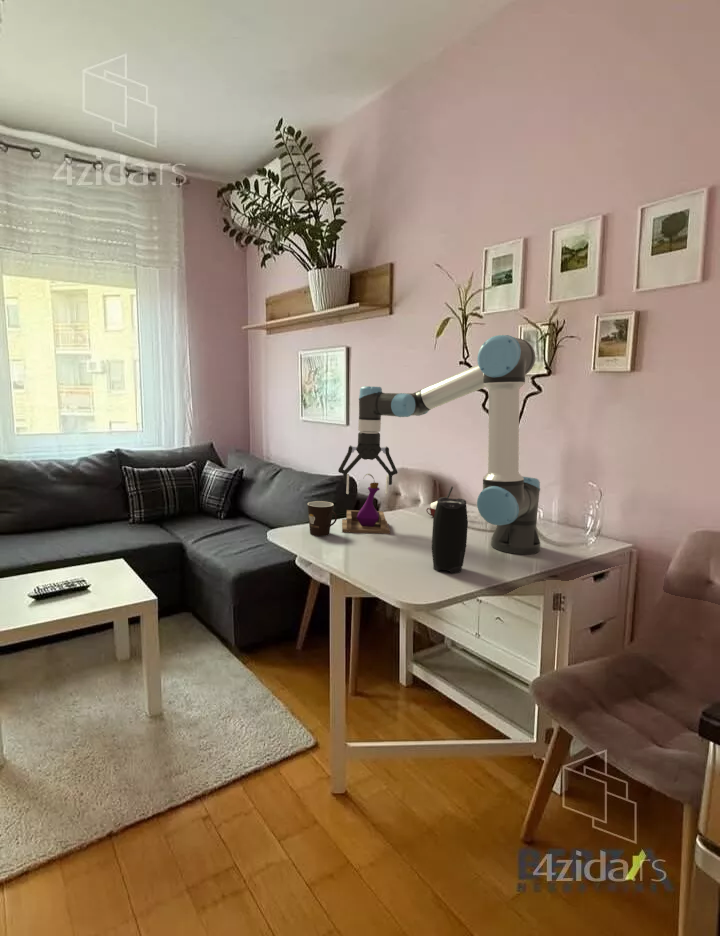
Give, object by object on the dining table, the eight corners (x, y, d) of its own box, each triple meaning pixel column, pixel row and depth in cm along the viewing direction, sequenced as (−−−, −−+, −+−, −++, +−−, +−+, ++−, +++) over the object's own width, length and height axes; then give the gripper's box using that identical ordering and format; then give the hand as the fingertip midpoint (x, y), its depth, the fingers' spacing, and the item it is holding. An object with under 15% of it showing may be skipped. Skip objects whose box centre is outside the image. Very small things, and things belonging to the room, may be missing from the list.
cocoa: (425, 518, 215) (425, 487, 213) (429, 514, 221) (429, 484, 219) (449, 520, 212) (450, 489, 210) (453, 516, 217) (454, 485, 215)
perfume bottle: (378, 522, 200) (381, 472, 197) (378, 528, 192) (380, 476, 190) (357, 521, 200) (359, 471, 198) (356, 526, 193) (358, 475, 190)
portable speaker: (425, 565, 158) (429, 497, 155) (455, 563, 161) (459, 496, 158) (439, 575, 150) (443, 503, 147) (470, 573, 153) (475, 502, 150)
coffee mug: (304, 530, 189) (304, 501, 188) (328, 529, 192) (329, 500, 190) (312, 540, 178) (312, 509, 177) (338, 539, 181) (339, 508, 179)
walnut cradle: (389, 533, 190) (390, 520, 189) (342, 532, 189) (342, 519, 189) (386, 523, 204) (387, 511, 203) (342, 521, 203) (342, 509, 202)
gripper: (404, 432, 196) (402, 492, 199) (332, 430, 195) (331, 490, 198) (407, 434, 188) (404, 496, 191) (332, 432, 187) (330, 494, 190)
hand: (367, 493), depth 195 cm, fingers open, 13 cm apart
